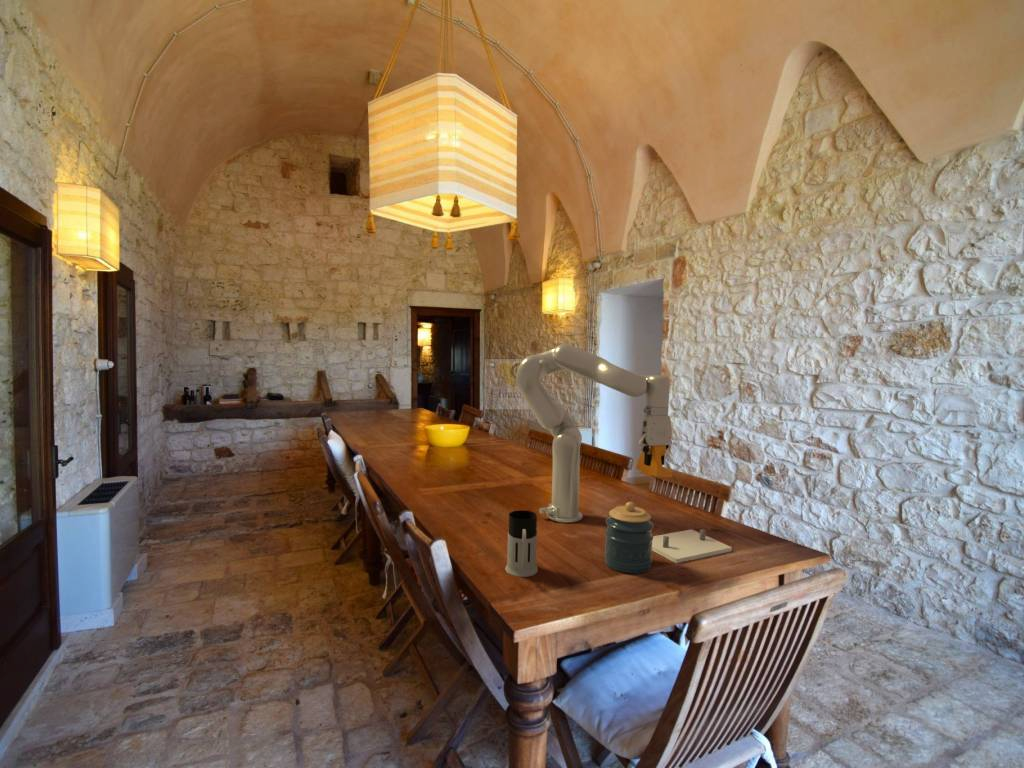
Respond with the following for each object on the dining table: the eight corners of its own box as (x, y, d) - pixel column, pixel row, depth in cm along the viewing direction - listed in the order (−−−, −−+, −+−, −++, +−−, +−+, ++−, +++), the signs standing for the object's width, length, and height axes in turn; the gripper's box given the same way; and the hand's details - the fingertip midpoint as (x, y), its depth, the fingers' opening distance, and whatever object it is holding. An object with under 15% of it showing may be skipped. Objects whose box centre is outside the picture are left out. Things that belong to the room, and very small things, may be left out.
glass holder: (536, 562, 136) (537, 509, 135) (541, 587, 122) (542, 528, 121) (505, 562, 136) (506, 509, 135) (506, 586, 122) (507, 527, 121)
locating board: (676, 563, 138) (676, 548, 137) (638, 542, 152) (639, 529, 152) (731, 551, 147) (732, 537, 147) (691, 532, 161) (691, 520, 161)
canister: (622, 578, 128) (625, 512, 127) (595, 558, 140) (597, 497, 139) (662, 570, 133) (664, 506, 132) (632, 551, 145) (634, 493, 144)
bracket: (673, 479, 164) (678, 444, 164) (656, 478, 161) (661, 442, 161) (652, 472, 174) (657, 438, 173) (635, 471, 171) (640, 437, 171)
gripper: (644, 413, 159) (641, 469, 160) (683, 412, 166) (680, 465, 167) (629, 410, 165) (627, 464, 167) (667, 409, 173) (665, 460, 174)
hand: (654, 464), depth 167 cm, fingers closed on bracket, 4 cm apart
